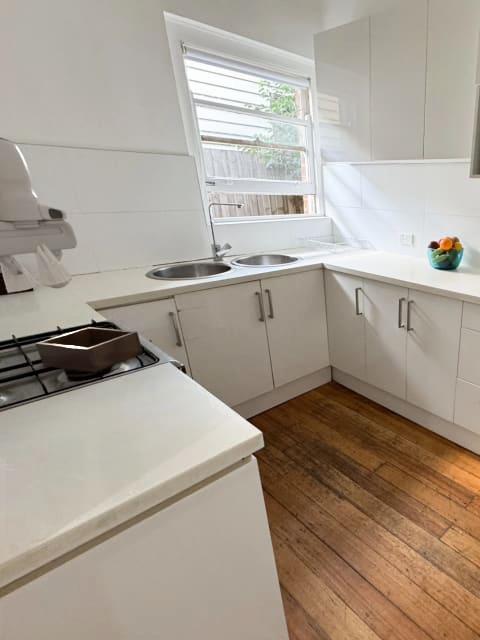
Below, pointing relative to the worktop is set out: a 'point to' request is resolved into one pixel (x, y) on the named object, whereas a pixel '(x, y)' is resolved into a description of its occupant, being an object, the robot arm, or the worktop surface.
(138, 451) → the worktop surface
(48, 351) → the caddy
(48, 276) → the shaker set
